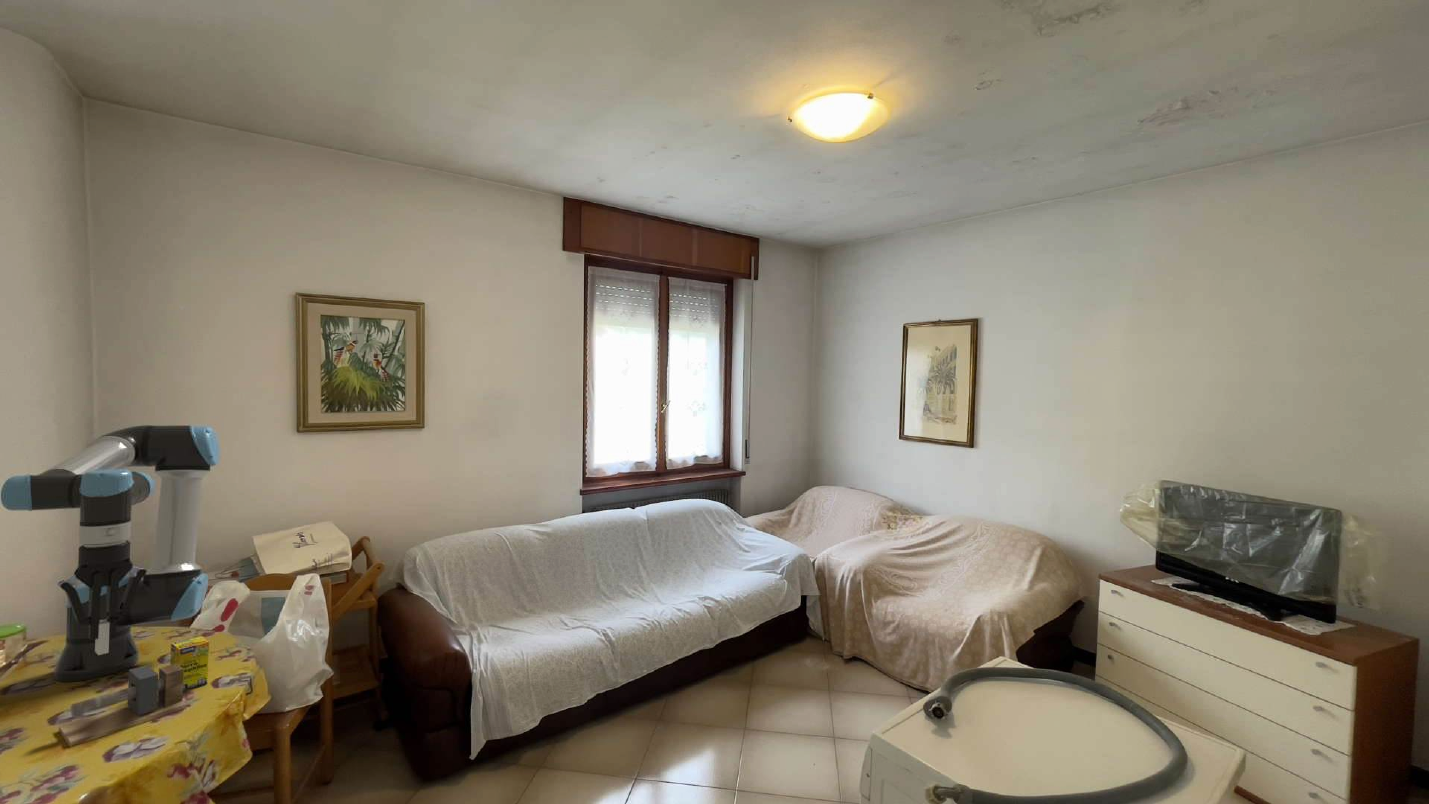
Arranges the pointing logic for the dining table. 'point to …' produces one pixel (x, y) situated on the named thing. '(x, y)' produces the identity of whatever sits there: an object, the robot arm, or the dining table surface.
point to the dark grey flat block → (143, 689)
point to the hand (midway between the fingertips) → (101, 652)
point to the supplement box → (192, 661)
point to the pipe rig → (124, 709)
